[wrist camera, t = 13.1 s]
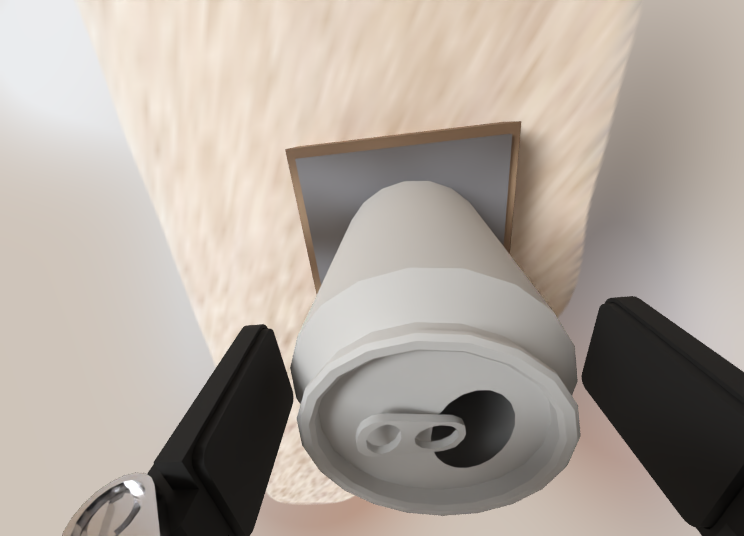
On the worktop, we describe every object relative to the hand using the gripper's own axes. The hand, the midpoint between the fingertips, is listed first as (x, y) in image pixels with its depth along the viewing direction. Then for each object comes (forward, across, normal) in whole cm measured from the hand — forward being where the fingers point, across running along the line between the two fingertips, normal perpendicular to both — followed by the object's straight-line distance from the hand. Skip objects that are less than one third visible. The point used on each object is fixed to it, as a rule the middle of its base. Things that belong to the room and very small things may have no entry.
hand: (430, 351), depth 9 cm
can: (+9, 0, 0) cm, 9 cm away
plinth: (+13, 0, +1) cm, 13 cm away
